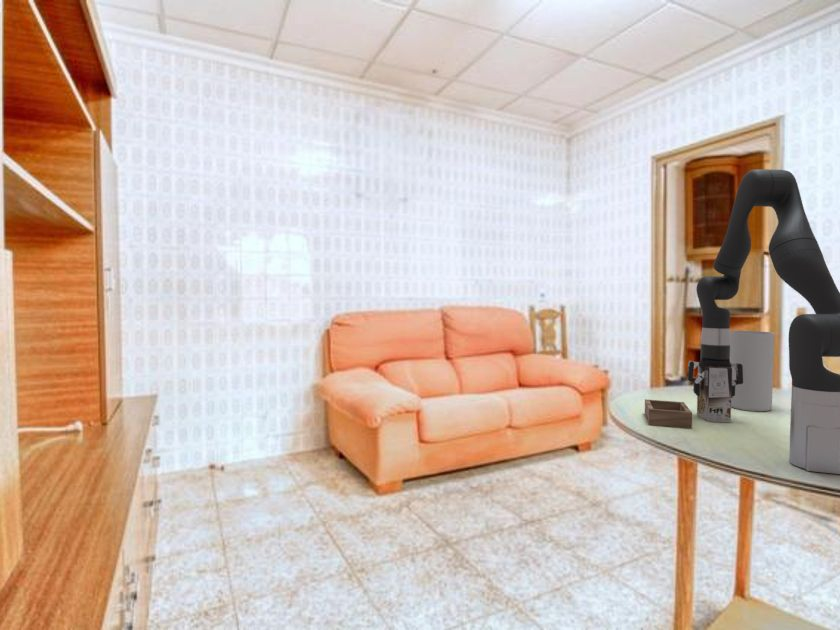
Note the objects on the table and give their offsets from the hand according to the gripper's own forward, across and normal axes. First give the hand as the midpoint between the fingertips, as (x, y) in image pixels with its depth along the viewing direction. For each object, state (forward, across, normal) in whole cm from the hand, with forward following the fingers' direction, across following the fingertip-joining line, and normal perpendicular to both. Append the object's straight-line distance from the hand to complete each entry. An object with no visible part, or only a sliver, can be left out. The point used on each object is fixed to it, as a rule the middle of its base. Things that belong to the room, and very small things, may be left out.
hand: (713, 396), depth 143 cm
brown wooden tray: (+7, -14, -8) cm, 17 cm away
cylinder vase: (+7, +14, +20) cm, 25 cm away
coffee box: (+7, 0, 0) cm, 7 cm away
